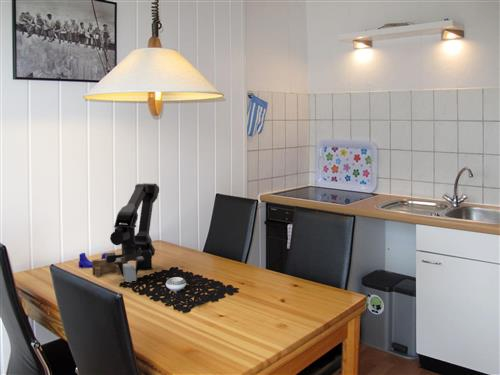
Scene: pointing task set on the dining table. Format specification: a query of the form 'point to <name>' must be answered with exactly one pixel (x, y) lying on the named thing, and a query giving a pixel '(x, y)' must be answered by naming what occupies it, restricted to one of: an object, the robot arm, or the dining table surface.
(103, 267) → the brown wooden bridge block
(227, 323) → the dining table surface
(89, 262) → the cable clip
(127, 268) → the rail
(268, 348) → the dining table surface
